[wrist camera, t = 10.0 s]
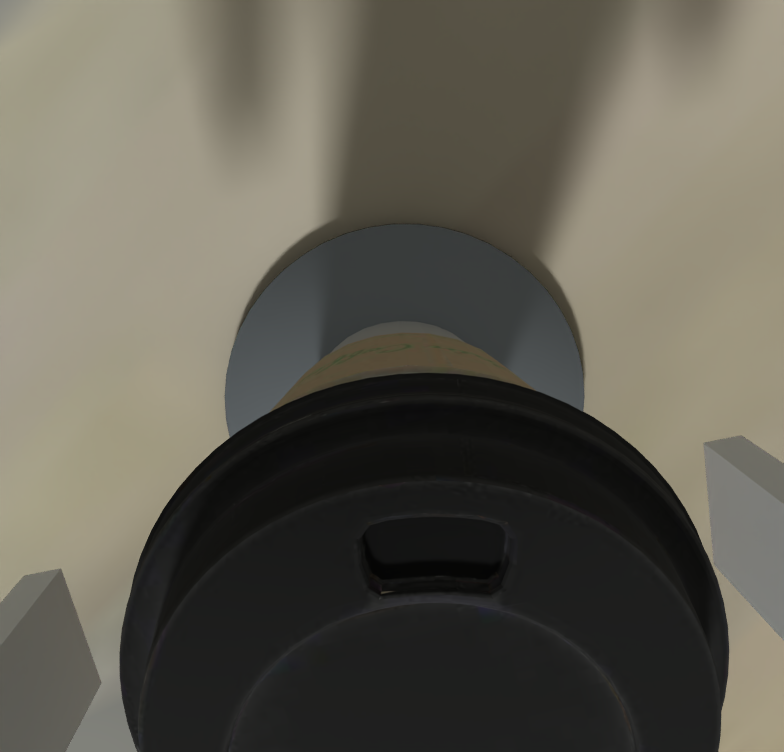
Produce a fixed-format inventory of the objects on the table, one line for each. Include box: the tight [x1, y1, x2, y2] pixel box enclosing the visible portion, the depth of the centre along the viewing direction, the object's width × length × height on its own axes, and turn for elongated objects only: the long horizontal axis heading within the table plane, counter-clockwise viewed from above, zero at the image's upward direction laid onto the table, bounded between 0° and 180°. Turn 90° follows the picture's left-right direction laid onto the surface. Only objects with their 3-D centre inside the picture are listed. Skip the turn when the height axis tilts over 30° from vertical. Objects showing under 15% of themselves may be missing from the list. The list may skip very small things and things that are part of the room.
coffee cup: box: [120, 321, 729, 752], centre depth 17 cm, size 9×9×15 cm
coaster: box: [225, 224, 584, 437], centre depth 24 cm, size 12×12×1 cm
